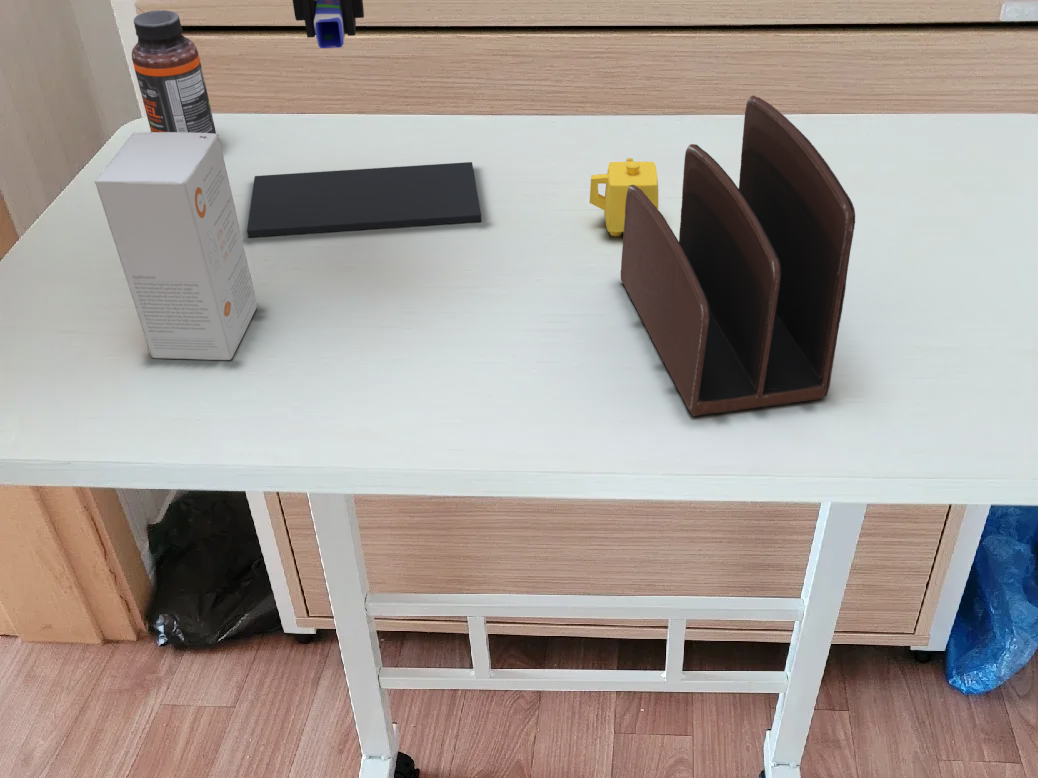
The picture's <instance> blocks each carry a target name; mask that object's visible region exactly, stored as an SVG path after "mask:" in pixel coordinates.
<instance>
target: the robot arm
mask: <svg viewBox="0 0 1038 778" xmlns="http://www.w3.org/2000/svg"><path fill="white" fill-rule="evenodd" d="M292 6H293V13H294V18H295V21H296V22H298V21H299V22H300V21H304V26H305V32H306V37H307V38H308V39H309V38H316V33H315V27H314V18H315V7H316V0H292ZM341 8H342V16H343V23H344V31H345V35H347V36H348V37H353V36H356V28H357V20H356V19H364V18H365V9H364V0H341Z"/></svg>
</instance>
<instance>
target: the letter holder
mask: <svg viewBox="0 0 1038 778" xmlns="http://www.w3.org/2000/svg"><path fill="white" fill-rule="evenodd" d="M742 133H743V134H742V143H741V155H740V169H739V181H738V186H737V184H736V183H735V182H734V180H733V179H732V178H731V177H730V175H729V174H728V173H727V171H725V169H724V168H723V167H722V166H721V165H720V164H719V162H717V160H716V159H714V158H713V156H711V155H710V153H708V152H707V151H705V150H704V149H702V147H700V146H699V145H698V144H693V143H690V144H689V145H688V146H687V148H686V150H685V152H684V153H685V154H684V162H683V163H684V164H683V178H682V192H681V193H682V195H681V207H680V221H679V234H678V236H679V237H678V238H677V236H676V235H675V233H674V231H673V229H672V228H671V227H670V225H669V223H668V222H667V220H666V218H665V217H664V216H663V214H662V213H661V211H660V210H659V208H658V209H657V208H656V207H655V205H654V204H653V203H652V202H651V201H650V200H649V198H648V197H647V196H646V195H645V194H644V192H643V191H642V190H641V189H639V188H638V187H637V186H635V185H630V186H629V188H628V191H627V196H626V204H625V221H624V232H623V233H622V234H623V237H622V238H623V239H622V248H621V249H622V250H621V260H620V261H621V263H620V280H621V283H622V284H623V286H624V288H625V290H626V291H627V294H628V295H629V298H630V299H631V302H632V303H633V305H634V307H635V309H636V311H637V313H638V315H639V317H640V319H641V322H642V323H643V325H644V326H645V329H646V331H647V333H648V335H649V336H650V339H651V340H652V342H653V344H654V346H655V348H656V350H657V353H658V354H659V356H660V358H661V360H662V362H663V364H664V366H665V369H666V370H667V371H668V373H669V375H670V378H671V379H672V381H673V383H674V384H675V387H676V388H677V391H678V392H679V394H680V396H681V397H682V400H683V401H684V403H685V404H684V405H685V406H686V407H687V409H688V411H689V413H690V414H691V415H692V416H693V417H696V416H704V415H710V414H719V413H728V412H734V411H742V410H743V411H744V410H748V409H757V408H764V407H772V406H780V405H787V404H793V403H801V402H808V401H816V400H817V401H818V400H823V399H825V398H826V397H827V396H828V394H829V390H830V386H831V381H832V372H833V366H834V360H835V354H836V349H837V342H838V334H839V329H840V323H841V319H842V314H843V308H844V302H845V301H844V300H845V296H846V295H845V294H846V289H847V288H846V287H847V279H848V278H847V277H848V272H849V271H848V270H849V263H850V255H851V250H852V244H853V239H854V232H855V225H856V210H855V207H854V206H855V205H854V203H853V202H852V199H851V198H850V196H849V195H848V193H847V192H846V190H845V188H844V187H843V185H842V184H841V182H840V181H839V178H838V177H837V175H836V174H835V173H834V171H833V170H832V169H831V166H830V165H829V164H828V163H827V161H826V160H825V158H824V157H823V156H822V154H821V153H820V152H819V151H818V150H817V148H816V147H815V145H813V144H812V142H811V141H810V139H808V138H807V137H806V136H805V135H804V133H802V131H801V130H800V129H798V127H797V126H796V125H794V123H792V122H791V121H790V120H789V119H788V118H787V117H786V116H785V115H784V114H783V113H781V112H780V111H779V110H778V109H777V108H776V107H775V106H773V105H772V104H770V103H769V102H767V101H766V100H764V99H762V98H761V97H759V96H755V95H751V96H750V97H749V98H748V99H747V102H746V104H745V111H744V120H743V132H742Z"/></svg>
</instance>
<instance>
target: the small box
mask: <svg viewBox="0 0 1038 778" xmlns="http://www.w3.org/2000/svg"><path fill="white" fill-rule="evenodd" d="M223 154H224V153H223V149H222V144H221V141H220V136H219V134H218V133H216V134H213V133H189V132H151V131H149V132H148V131H147V132H144V131H143V132H133V133H132V134H131V135H130V136H129V138H128V139H127V140H126V142H124V144H123V145H122V147H120V149H119V150H118V151H117V153H116V154H115V155H114V157H113V158H112V159H111V161H110V162H109V163H108V164H107V165H106V167H105V168H104V169H103V170H102V171H101V173H100V174H99V175H98V177H97V178H96V179H95V180H94V184H95V187H96V190H97V193H98V196H99V199H100V202H101V205H102V208H103V211H104V214H105V217H106V221H107V224H108V227H109V230H110V233H111V235H112V239H113V243H114V245H115V248H116V251H117V255H118V258H119V260H120V264H121V267H122V271H123V273H124V276H125V280H126V282H127V285H128V288H129V292H130V295H131V298H132V301H133V305H134V307H135V310H136V313H137V317H138V320H139V323H140V326H141V329H142V332H143V335H144V339H145V342H146V345H147V348H148V351H149V354H150V356H151V357H152V358H153V359H179V360H181V359H182V360H208V361H211V360H212V361H213V360H214V361H230V360H232V359H233V358H234V357H233V356H234V354H235V352H236V351H237V349H238V347H239V345H240V342H241V341H242V339H243V337H244V334H245V333H246V331H247V329H248V326H249V324H250V322H251V320H252V318H253V316H254V314H255V312H256V310H257V308H258V305H259V304H258V300H257V297H256V293H255V288H254V284H253V280H252V274H251V272H250V271H251V270H250V267H249V263H248V259H247V255H246V250H245V246H244V242H243V237H242V233H241V227H240V224H239V223H240V222H239V219H238V215H237V211H236V206H235V202H234V197H233V192H232V187H231V183H230V179H229V175H228V171H227V166H226V162H225V158H224V155H223Z"/></svg>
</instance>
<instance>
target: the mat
mask: <svg viewBox="0 0 1038 778" xmlns="http://www.w3.org/2000/svg"><path fill="white" fill-rule="evenodd" d="M474 171H475V170H474V165H473V162H472V161H467V162H466V161H465V162H451V163H450V162H449V163H435V164H421V165H419V164H418V165H406V166H405V165H403V166H388V167H374V168H373V167H372V168H359V169H357V168H356V169H340V170H328V171H327V170H325V171H310V172H295V173H281V174H280V173H278V174H266V175H265V174H264V175H254V179H253V186H252V192H251V200H250V206H249V213H248V222H247V229H246V233H247V237H248V238H254V237H255V238H257V237H271V236H285V235H299V234H316V233H328V232H331V233H332V232H345V231H359V230H375V229H376V230H377V229H389V228H405V227H418V226H431V225H432V226H434V225H435V226H436V225H449V224H462V223H463V224H464V223H479V222H482V214H481V207H480V201H479V194H478V189H477V183H476V177H475V172H474Z"/></svg>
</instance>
